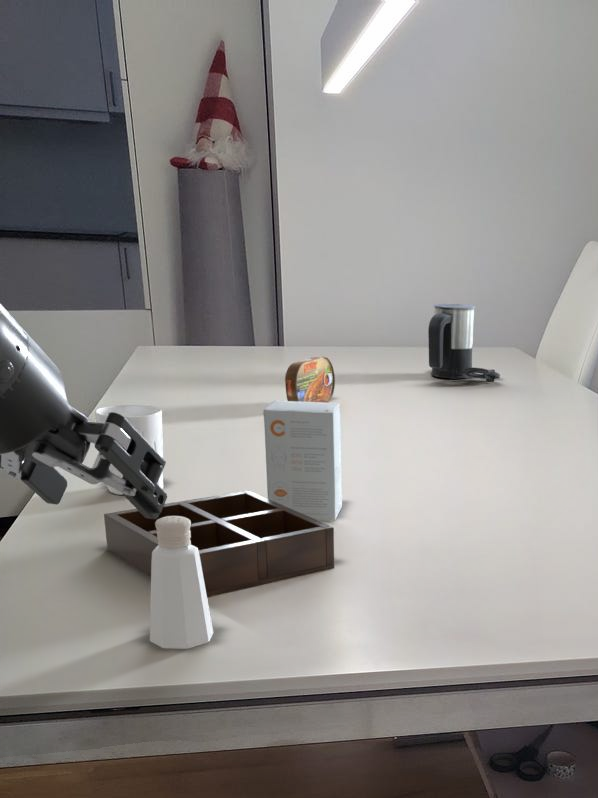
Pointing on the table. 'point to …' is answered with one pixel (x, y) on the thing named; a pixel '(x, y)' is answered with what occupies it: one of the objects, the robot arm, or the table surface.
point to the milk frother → (454, 343)
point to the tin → (310, 380)
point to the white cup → (137, 428)
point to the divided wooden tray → (231, 540)
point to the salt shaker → (177, 588)
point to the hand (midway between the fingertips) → (107, 500)
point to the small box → (304, 457)
